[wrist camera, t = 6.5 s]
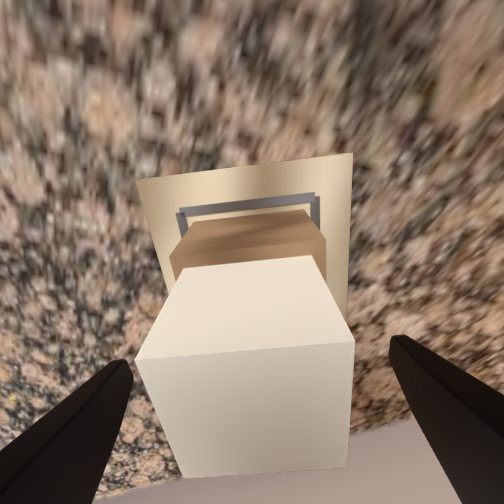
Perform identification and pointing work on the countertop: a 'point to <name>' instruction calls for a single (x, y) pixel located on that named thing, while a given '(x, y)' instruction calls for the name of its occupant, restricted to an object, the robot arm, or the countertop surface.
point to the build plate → (256, 205)
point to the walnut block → (250, 240)
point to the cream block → (251, 369)
